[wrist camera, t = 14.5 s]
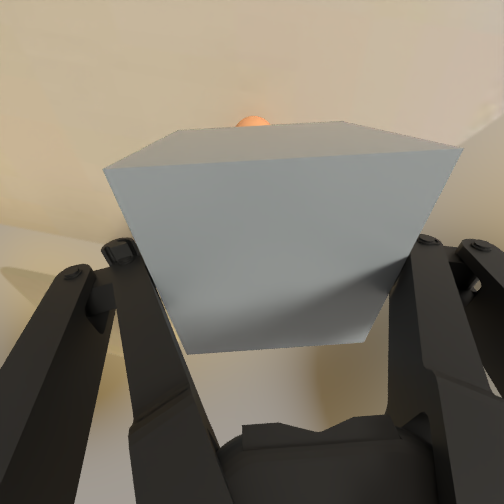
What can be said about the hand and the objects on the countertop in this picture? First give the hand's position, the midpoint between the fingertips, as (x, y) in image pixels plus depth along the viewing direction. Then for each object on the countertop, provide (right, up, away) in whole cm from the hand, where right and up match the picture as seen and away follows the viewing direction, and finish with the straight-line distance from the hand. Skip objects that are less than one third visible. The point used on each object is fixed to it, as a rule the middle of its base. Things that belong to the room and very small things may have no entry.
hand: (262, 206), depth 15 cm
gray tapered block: (0, 0, +1) cm, 1 cm away
